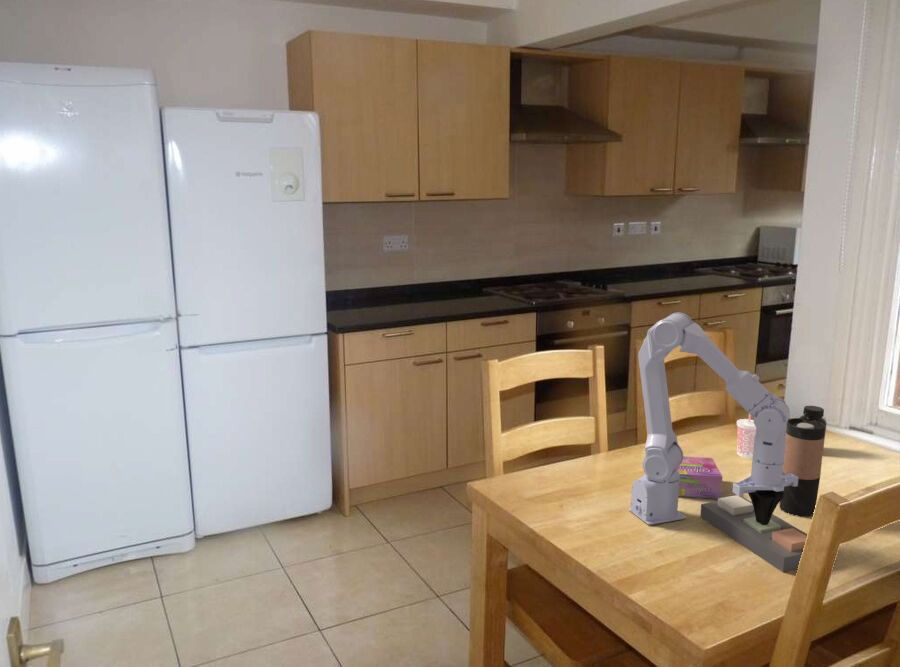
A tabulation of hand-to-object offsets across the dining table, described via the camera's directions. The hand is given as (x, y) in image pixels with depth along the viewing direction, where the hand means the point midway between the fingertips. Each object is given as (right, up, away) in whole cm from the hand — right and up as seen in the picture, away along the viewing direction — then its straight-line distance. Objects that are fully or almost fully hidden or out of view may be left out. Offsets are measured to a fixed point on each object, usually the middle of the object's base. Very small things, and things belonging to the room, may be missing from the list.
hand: (762, 522), depth 149 cm
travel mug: (+13, -1, +14) cm, 19 cm away
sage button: (0, -2, 0) cm, 2 cm away
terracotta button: (+3, -2, -7) cm, 8 cm away
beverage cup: (+15, +6, +45) cm, 48 cm away
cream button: (-3, +1, +8) cm, 8 cm away
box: (-5, +6, +30) cm, 31 cm away
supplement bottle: (+33, +7, +48) cm, 59 cm away
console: (0, -3, +1) cm, 3 cm away
